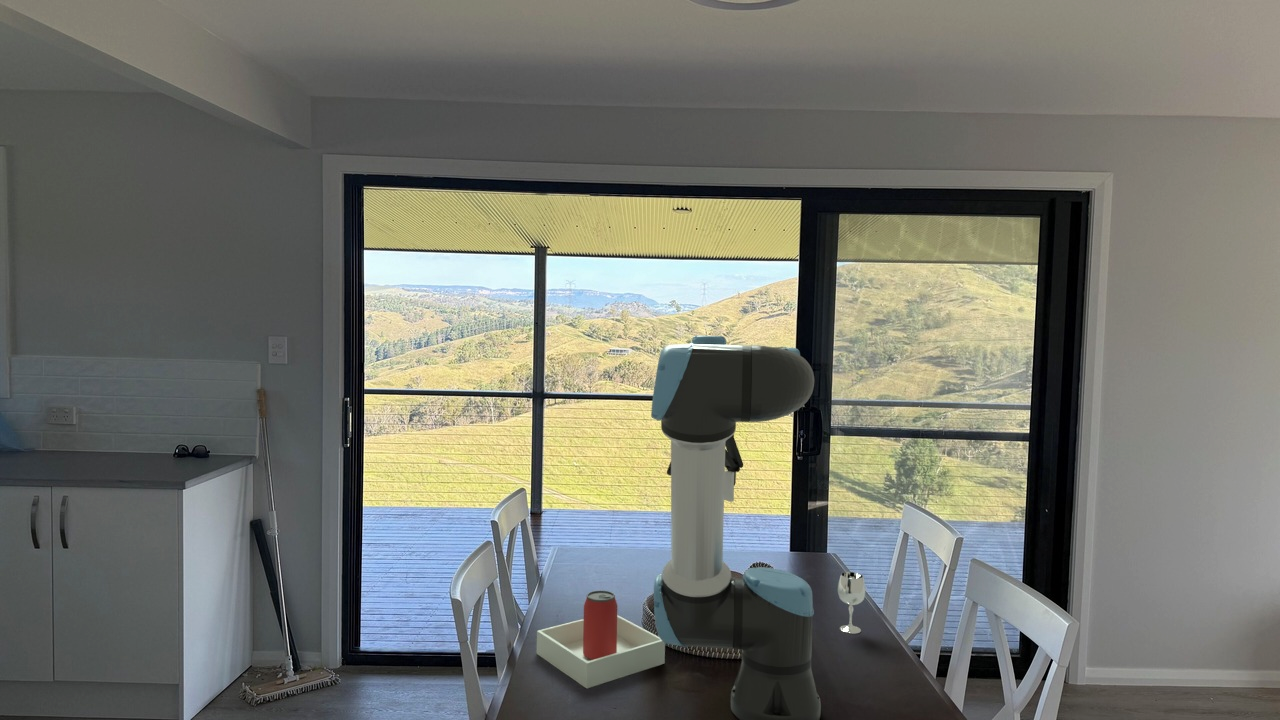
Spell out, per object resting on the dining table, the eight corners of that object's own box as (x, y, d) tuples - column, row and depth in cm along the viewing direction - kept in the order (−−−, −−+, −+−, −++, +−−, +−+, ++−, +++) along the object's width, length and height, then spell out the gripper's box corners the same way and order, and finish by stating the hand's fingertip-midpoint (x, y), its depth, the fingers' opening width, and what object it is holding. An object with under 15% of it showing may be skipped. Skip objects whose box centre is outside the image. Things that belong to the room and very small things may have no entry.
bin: (664, 663, 149) (665, 640, 149) (586, 688, 138) (587, 663, 138) (611, 633, 164) (611, 611, 163) (536, 653, 153) (536, 630, 153)
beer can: (612, 664, 147) (613, 602, 147) (579, 660, 148) (579, 599, 148) (619, 650, 154) (620, 590, 153) (587, 647, 155) (588, 588, 154)
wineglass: (833, 631, 167) (835, 576, 166) (840, 622, 172) (841, 569, 171) (860, 636, 164) (862, 581, 164) (866, 627, 169) (868, 573, 169)
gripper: (736, 402, 177) (734, 494, 178) (651, 408, 162) (649, 508, 163) (760, 405, 171) (758, 500, 172) (674, 411, 156) (672, 515, 157)
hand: (705, 504), depth 168 cm, fingers open, 13 cm apart
